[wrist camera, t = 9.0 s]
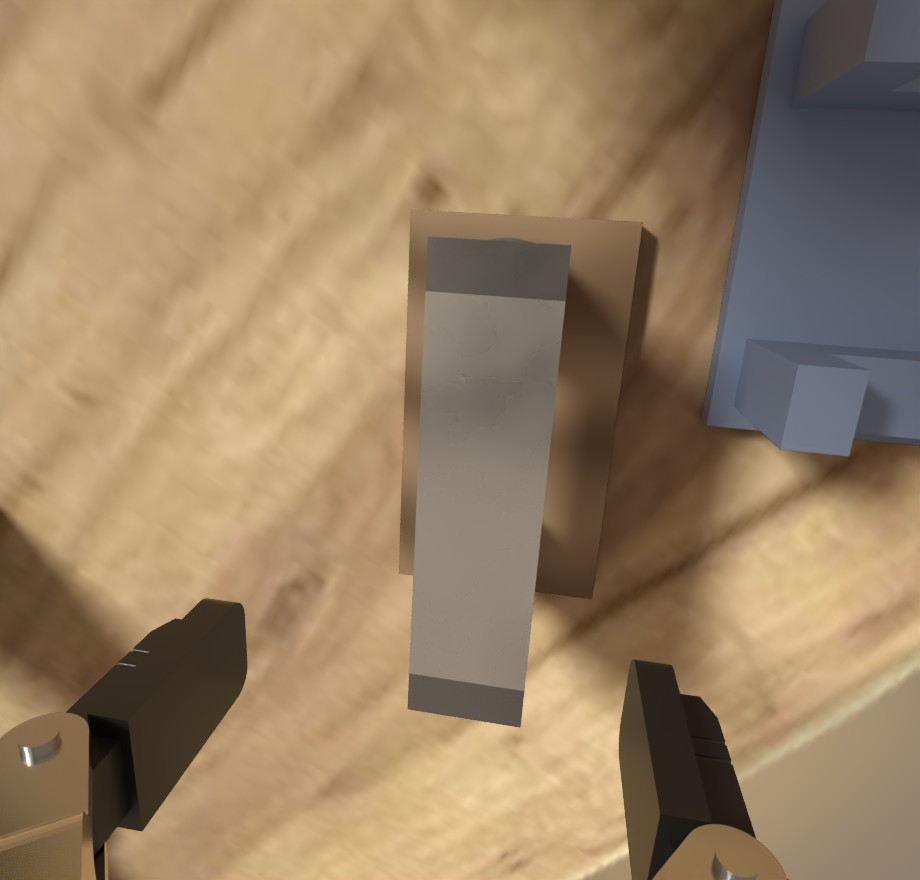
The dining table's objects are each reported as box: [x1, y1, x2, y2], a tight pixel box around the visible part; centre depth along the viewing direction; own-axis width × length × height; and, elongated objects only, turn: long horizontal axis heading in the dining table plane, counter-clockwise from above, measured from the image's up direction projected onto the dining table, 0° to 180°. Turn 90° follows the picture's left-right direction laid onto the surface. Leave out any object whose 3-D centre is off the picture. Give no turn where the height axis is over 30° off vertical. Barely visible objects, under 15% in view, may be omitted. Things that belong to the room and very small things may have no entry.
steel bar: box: [408, 236, 571, 727], centre depth 22 cm, size 16×4×4 cm, turn 177°
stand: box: [399, 210, 643, 599], centre depth 28 cm, size 18×10×8 cm, turn 177°
